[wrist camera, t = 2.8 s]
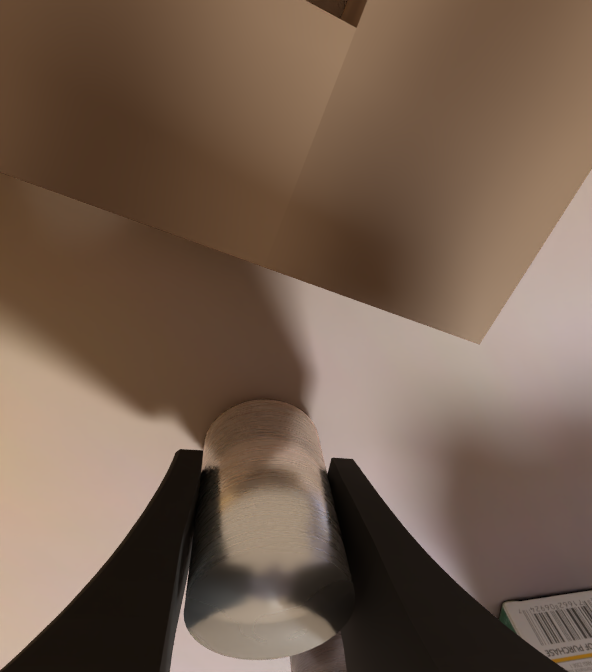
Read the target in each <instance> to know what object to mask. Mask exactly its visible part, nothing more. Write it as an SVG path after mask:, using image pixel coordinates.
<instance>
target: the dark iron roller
mask: <svg viewBox="0 0 592 672" xmlns="http://www.w3.org/2000/svg"><path fill="white" fill-rule="evenodd" d="M290 662H291V672H347V670H346V662H345V654H344V648H343V642H342V637H341V631H339V632H338V633H337V634H335V635H334V636H333V637H332V638H330V639H329V640H327V641H326V642H324V643H322V644H321V645H319V646H317V647H315V648H313V649H310V650H308V651H305V652H302V653H299V654H296V655H292V656H290Z"/></svg>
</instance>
